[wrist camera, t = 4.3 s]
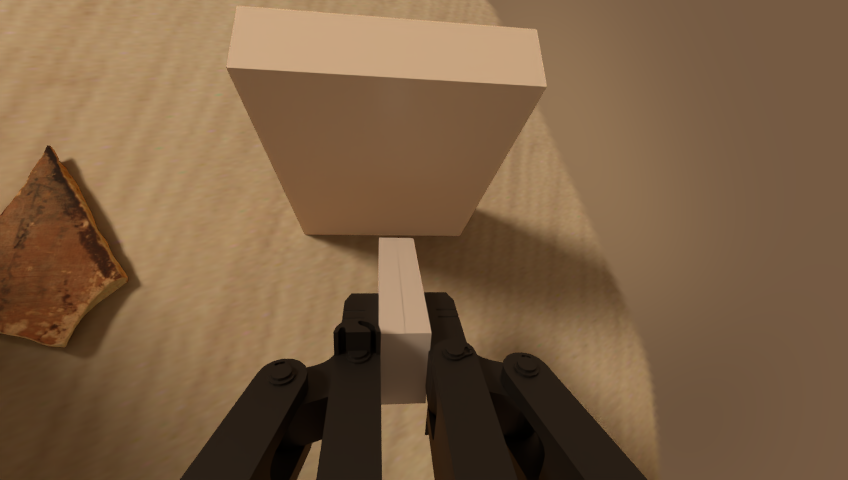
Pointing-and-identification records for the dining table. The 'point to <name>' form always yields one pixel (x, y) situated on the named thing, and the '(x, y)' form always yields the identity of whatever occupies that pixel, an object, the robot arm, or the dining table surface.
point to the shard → (51, 258)
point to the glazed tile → (383, 114)
